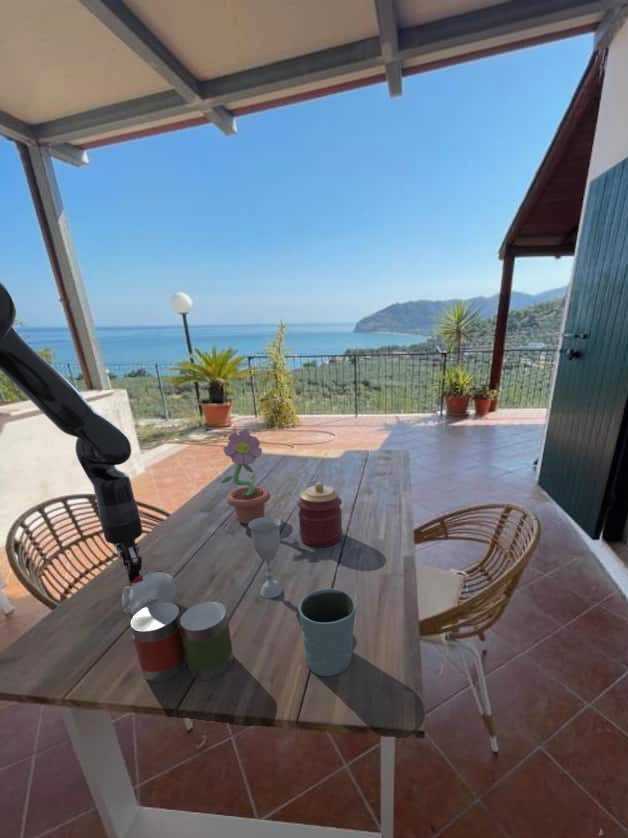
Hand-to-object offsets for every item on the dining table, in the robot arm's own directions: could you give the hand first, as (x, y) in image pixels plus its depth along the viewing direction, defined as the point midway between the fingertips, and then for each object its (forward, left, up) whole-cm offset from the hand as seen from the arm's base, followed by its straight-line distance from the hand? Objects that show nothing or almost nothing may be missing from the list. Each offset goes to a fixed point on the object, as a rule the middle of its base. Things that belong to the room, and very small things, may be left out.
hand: (135, 583), depth 94 cm
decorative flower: (+18, +38, -2) cm, 42 cm away
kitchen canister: (+43, +25, -2) cm, 50 cm away
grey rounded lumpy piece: (+7, -8, -2) cm, 11 cm away
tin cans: (+22, -24, -2) cm, 33 cm away
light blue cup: (+48, -23, -2) cm, 53 cm away
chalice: (+33, -2, -2) cm, 33 cm away
